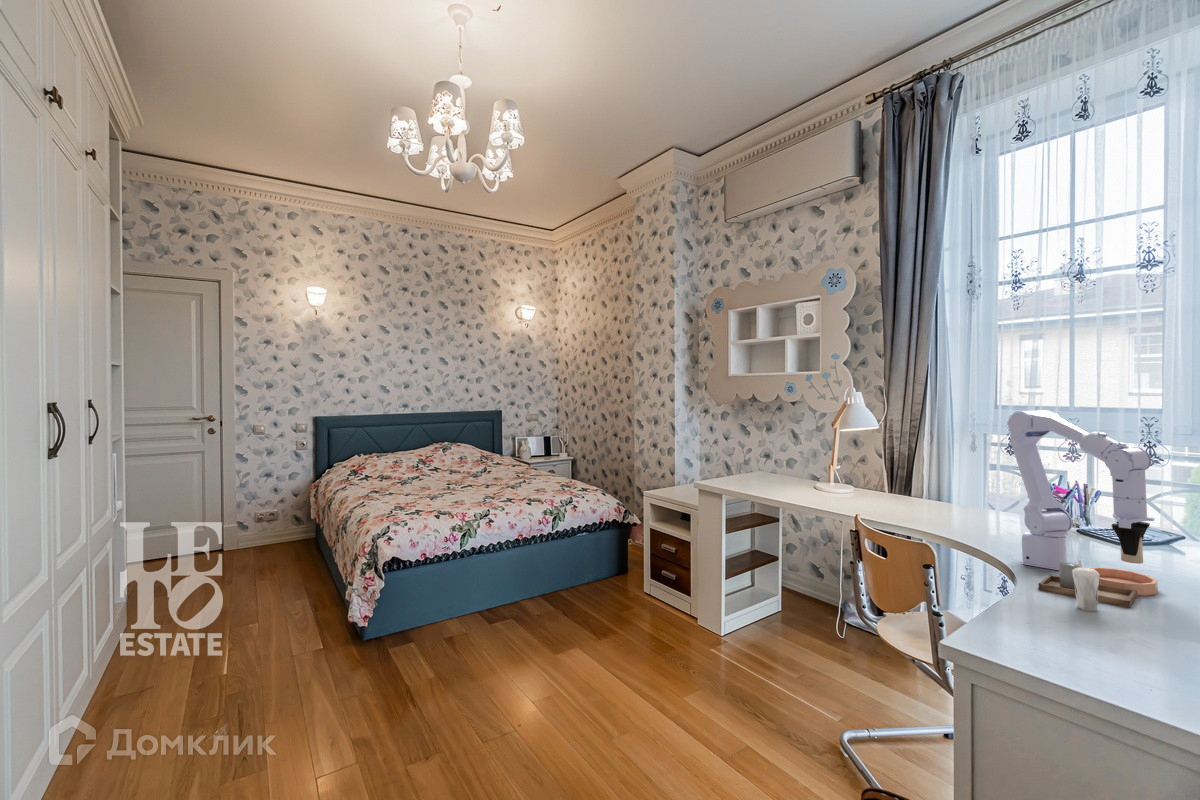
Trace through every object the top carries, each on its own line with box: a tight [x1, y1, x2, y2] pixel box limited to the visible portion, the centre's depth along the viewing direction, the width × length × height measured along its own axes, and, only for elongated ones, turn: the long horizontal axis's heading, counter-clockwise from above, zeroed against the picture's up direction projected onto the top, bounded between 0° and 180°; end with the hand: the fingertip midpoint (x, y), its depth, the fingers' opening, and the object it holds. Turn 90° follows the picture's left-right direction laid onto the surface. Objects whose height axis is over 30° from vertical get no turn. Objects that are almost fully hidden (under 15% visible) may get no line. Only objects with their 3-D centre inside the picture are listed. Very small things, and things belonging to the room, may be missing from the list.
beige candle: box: [1119, 537, 1144, 565], centre depth 127 cm, size 4×4×6 cm
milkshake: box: [1072, 559, 1100, 613], centre depth 117 cm, size 4×5×10 cm
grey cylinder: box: [1058, 561, 1080, 590], centre depth 128 cm, size 4×4×6 cm
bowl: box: [1088, 566, 1159, 597], centre depth 130 cm, size 13×13×3 cm
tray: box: [1038, 574, 1138, 609], centre depth 126 cm, size 16×10×2 cm, turn 37°
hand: (1131, 553), depth 127 cm, fingers closed on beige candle, 4 cm apart
